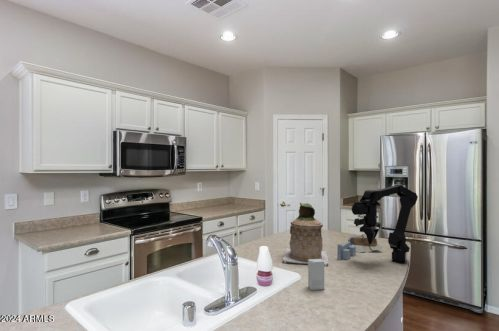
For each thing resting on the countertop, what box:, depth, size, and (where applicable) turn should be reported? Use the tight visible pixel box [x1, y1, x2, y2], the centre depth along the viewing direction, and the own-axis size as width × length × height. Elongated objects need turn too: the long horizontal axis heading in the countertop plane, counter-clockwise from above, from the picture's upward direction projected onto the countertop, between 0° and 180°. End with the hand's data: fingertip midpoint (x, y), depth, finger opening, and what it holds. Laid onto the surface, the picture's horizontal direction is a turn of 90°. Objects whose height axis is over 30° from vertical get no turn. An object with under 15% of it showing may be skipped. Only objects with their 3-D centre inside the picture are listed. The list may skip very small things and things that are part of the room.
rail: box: [350, 237, 378, 247], centre depth 163 cm, size 13×4×4 cm, turn 52°
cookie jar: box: [282, 201, 329, 267], centre depth 171 cm, size 25×25×32 cm
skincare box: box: [307, 259, 325, 291], centre depth 129 cm, size 6×4×12 cm
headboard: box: [336, 237, 357, 261], centre depth 174 cm, size 5×18×9 cm, turn 141°
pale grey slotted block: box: [348, 233, 383, 253], centre depth 190 cm, size 16×9×15 cm
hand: (370, 243), depth 160 cm, fingers closed on rail, 3 cm apart
